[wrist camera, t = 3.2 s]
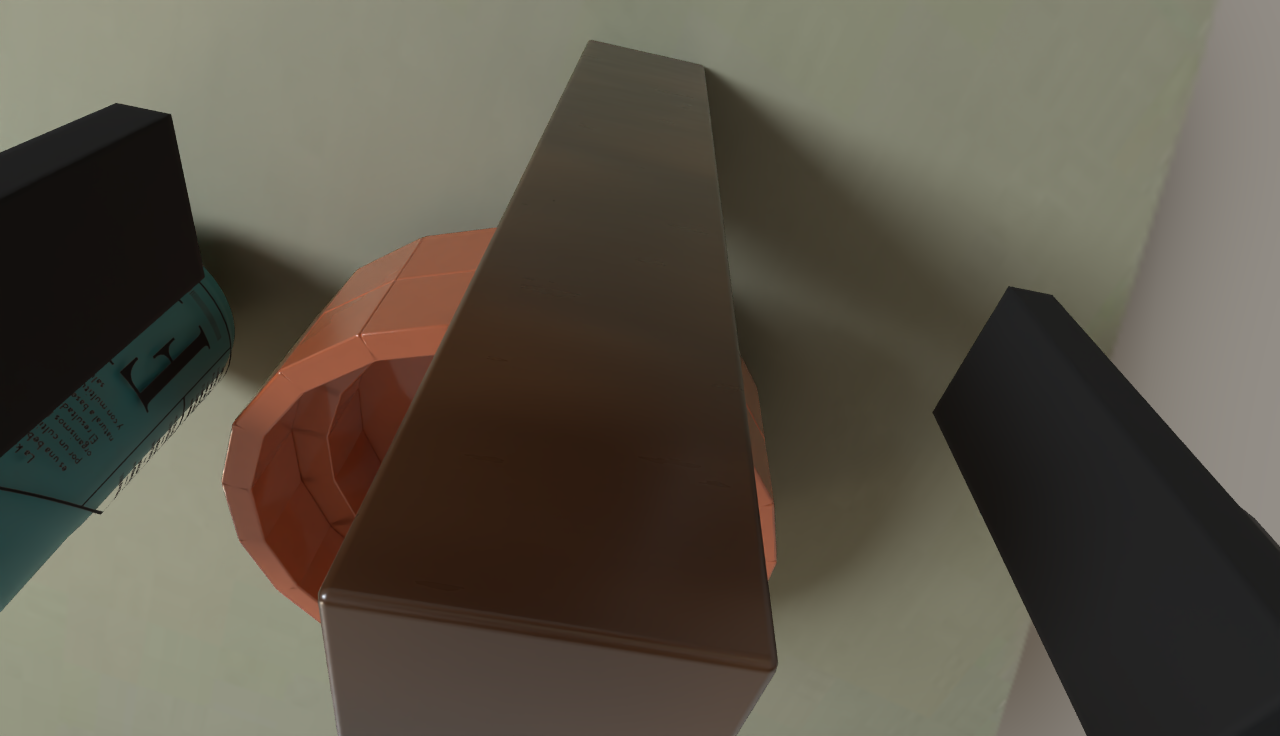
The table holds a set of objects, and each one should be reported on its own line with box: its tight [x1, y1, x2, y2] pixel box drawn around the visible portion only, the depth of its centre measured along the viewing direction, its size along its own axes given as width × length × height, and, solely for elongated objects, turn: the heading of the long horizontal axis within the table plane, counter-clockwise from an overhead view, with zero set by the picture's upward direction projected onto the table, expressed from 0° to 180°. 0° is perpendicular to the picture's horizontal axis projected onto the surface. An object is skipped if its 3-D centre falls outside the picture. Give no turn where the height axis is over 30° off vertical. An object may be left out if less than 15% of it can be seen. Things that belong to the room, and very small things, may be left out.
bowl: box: [221, 228, 777, 623], centre depth 22 cm, size 16×16×6 cm
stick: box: [318, 40, 778, 736], centre depth 12 cm, size 3×3×16 cm
